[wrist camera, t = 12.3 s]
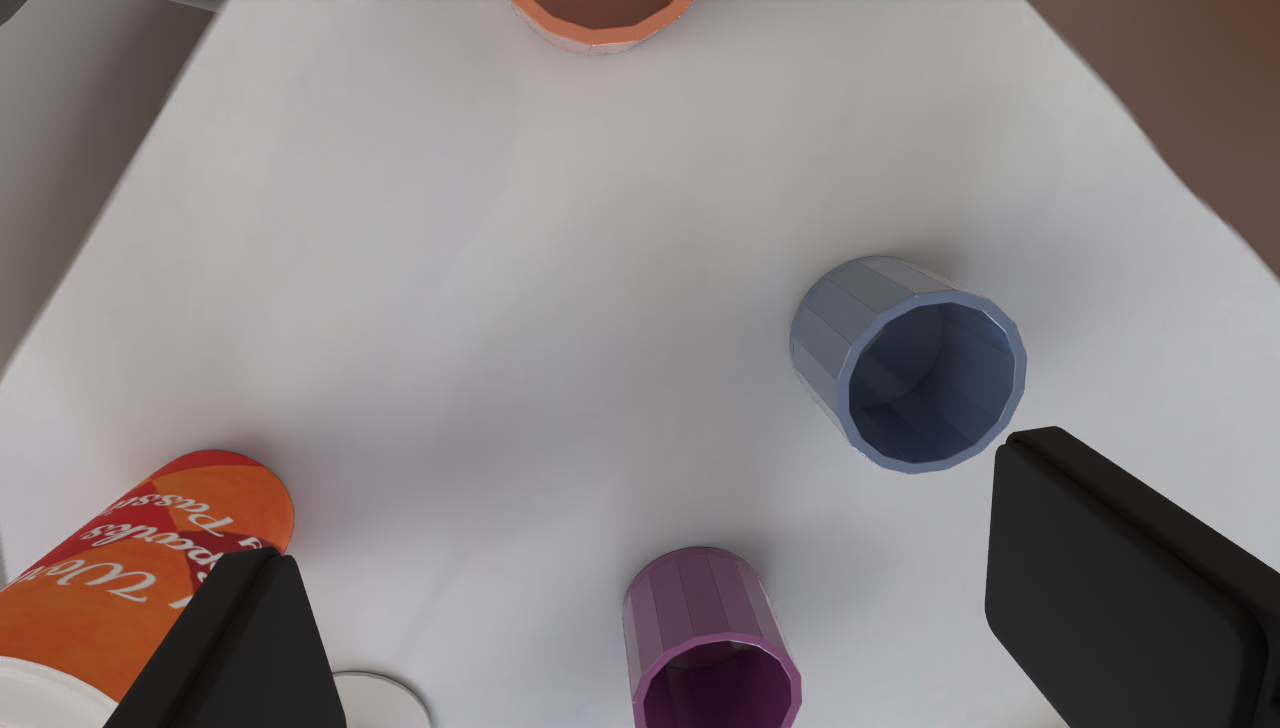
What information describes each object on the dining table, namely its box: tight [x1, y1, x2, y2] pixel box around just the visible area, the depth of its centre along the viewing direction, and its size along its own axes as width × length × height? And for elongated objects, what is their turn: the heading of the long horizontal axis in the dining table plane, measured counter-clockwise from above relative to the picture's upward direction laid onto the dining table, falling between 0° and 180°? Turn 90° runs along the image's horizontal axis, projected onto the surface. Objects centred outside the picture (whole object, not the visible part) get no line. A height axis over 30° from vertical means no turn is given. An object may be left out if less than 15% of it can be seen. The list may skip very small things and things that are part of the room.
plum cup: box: [622, 547, 802, 728], centre depth 33 cm, size 7×7×6 cm
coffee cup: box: [0, 450, 294, 728], centre depth 25 cm, size 8×8×15 cm
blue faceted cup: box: [790, 256, 1027, 474], centre depth 30 cm, size 7×7×6 cm
